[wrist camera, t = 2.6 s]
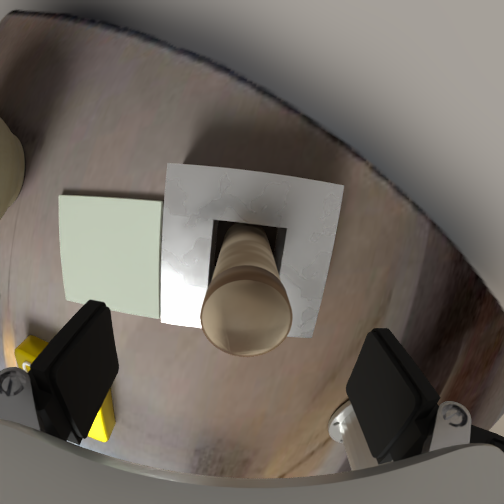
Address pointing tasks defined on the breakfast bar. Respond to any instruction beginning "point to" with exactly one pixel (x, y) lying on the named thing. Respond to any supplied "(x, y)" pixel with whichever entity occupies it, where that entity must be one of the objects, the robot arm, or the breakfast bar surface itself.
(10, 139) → the planter bowl
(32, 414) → the robot arm
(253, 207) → the block
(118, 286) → the pad
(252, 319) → the peg
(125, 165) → the breakfast bar surface
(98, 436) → the element tile
